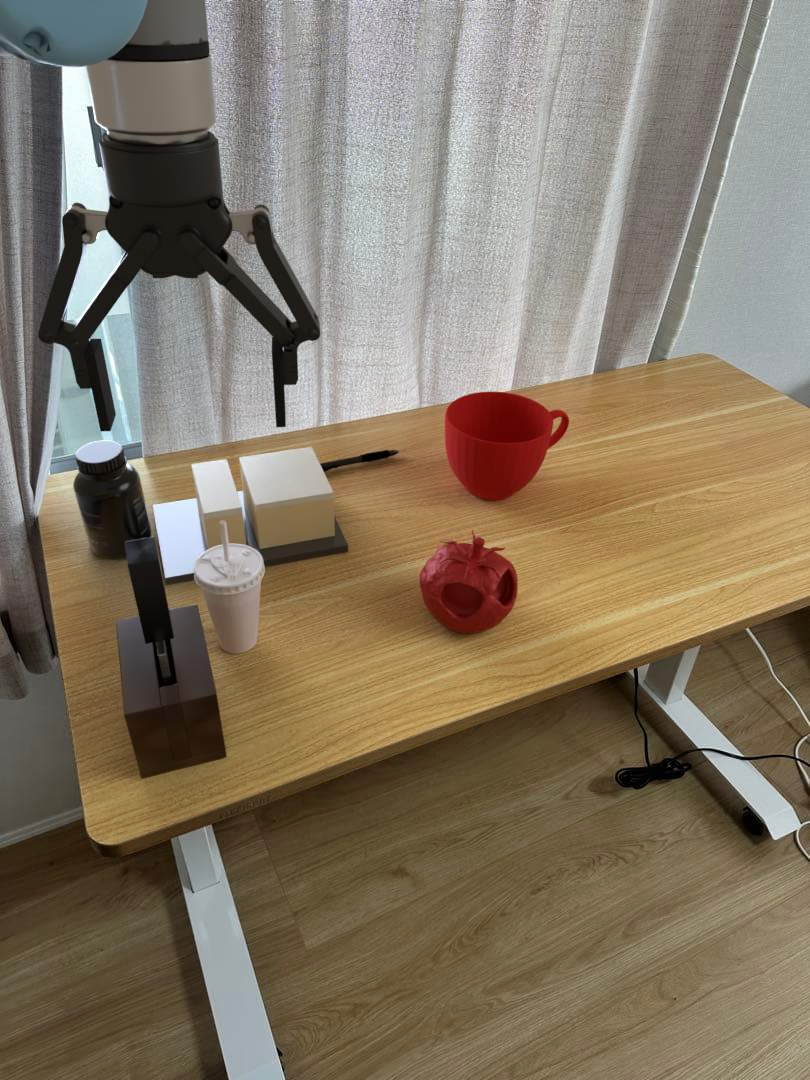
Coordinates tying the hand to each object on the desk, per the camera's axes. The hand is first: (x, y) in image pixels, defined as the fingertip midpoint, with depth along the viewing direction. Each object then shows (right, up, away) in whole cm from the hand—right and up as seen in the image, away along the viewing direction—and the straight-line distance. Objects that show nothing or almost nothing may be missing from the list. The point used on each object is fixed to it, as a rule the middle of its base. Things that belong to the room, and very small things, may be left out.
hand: (195, 421), depth 65 cm
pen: (+10, 0, +40) cm, 41 cm away
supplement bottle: (-15, -10, +26) cm, 32 cm away
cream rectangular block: (-4, -8, +27) cm, 28 cm away
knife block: (-3, -25, +6) cm, 26 cm away
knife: (-3, -25, +6) cm, 25 cm away
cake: (+3, -8, +30) cm, 31 cm away
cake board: (-1, -9, +28) cm, 30 cm away
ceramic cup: (+30, -2, +38) cm, 49 cm away
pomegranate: (+23, -17, +19) cm, 34 cm away
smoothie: (0, -20, +14) cm, 24 cm away
